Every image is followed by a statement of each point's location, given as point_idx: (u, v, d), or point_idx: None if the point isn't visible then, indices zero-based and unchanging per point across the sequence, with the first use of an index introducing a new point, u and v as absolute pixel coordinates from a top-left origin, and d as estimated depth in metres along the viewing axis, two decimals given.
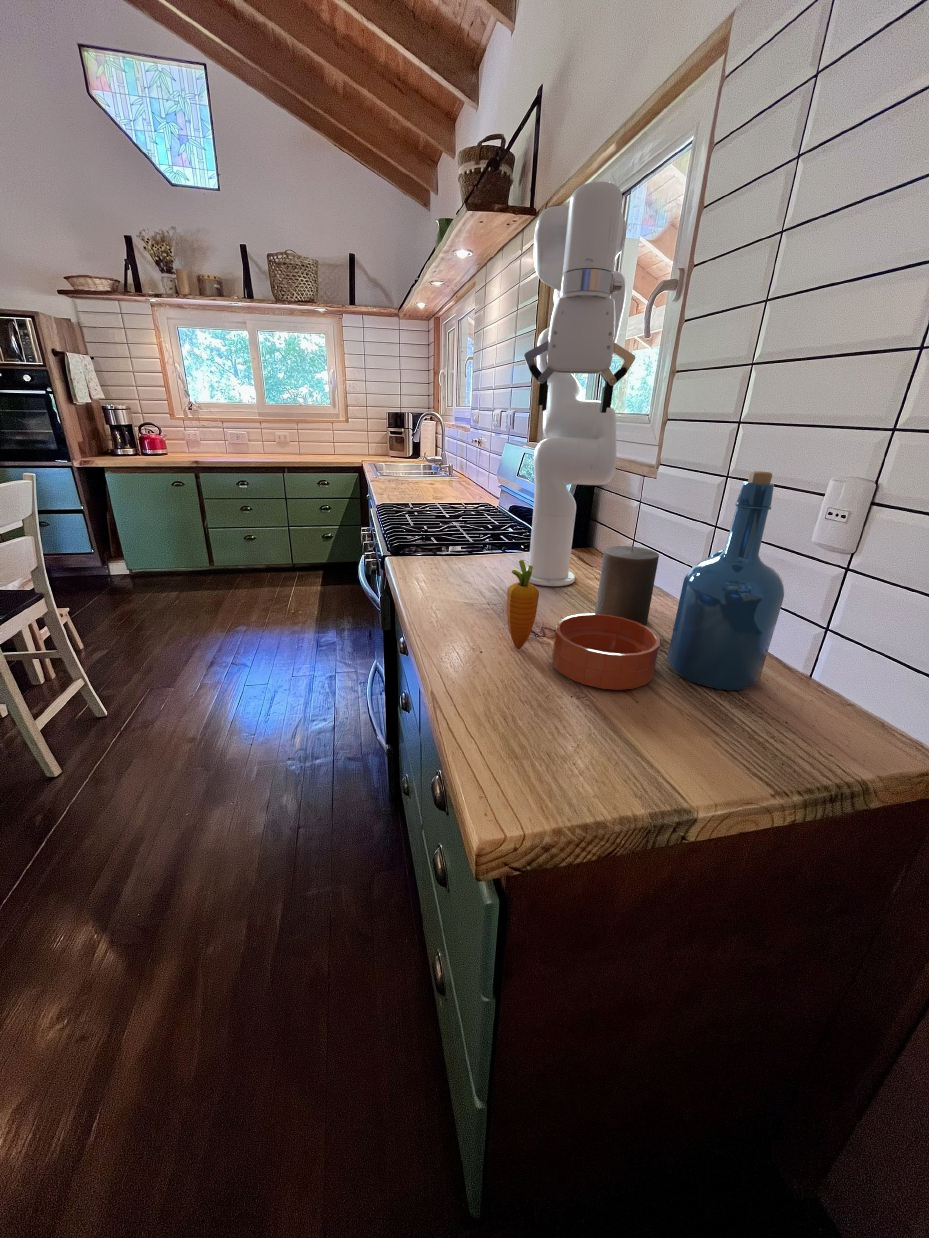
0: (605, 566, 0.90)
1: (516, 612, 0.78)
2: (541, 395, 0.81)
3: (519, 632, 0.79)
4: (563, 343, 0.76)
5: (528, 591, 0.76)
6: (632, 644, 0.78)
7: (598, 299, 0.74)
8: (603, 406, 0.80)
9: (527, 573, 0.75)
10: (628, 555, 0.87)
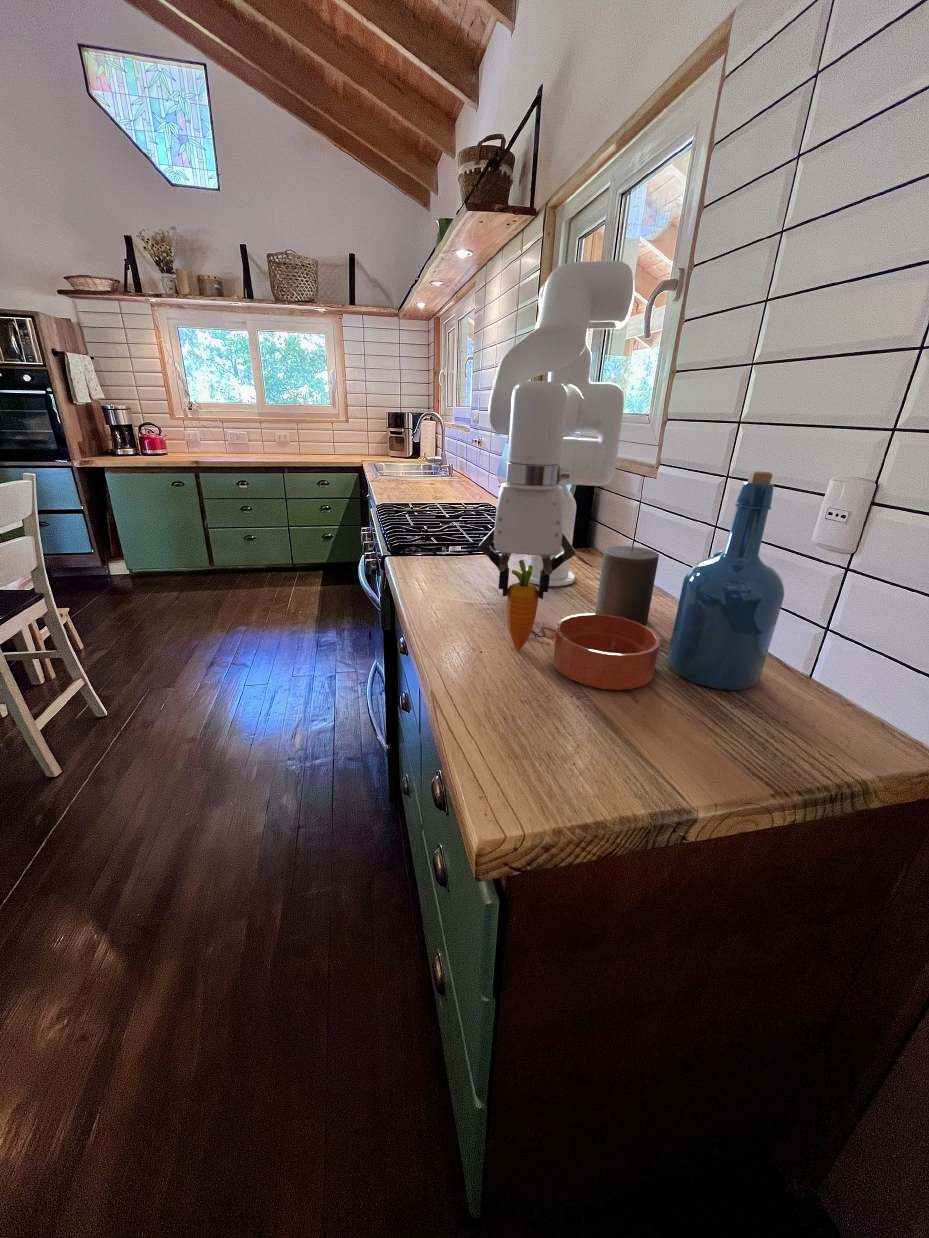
0: (605, 566, 0.90)
1: (516, 612, 0.78)
2: (501, 581, 0.77)
3: (519, 632, 0.79)
4: (509, 530, 0.73)
5: (528, 591, 0.76)
6: (632, 644, 0.78)
7: (544, 491, 0.70)
8: (540, 593, 0.77)
9: (527, 573, 0.75)
10: (628, 555, 0.87)
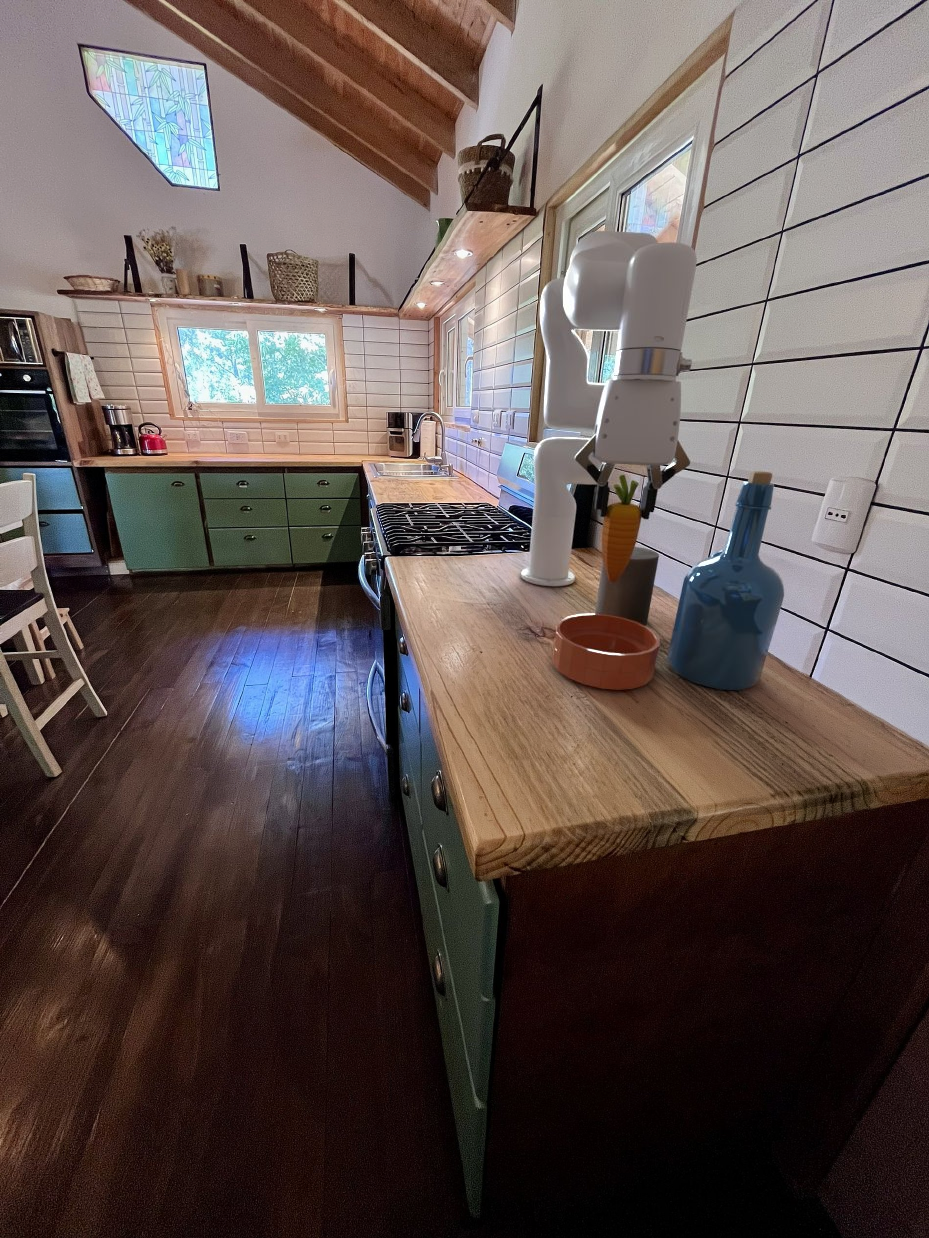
0: None
1: (616, 536, 0.67)
2: (600, 499, 0.67)
3: (617, 560, 0.69)
4: (616, 433, 0.62)
5: (633, 510, 0.66)
6: (632, 644, 0.78)
7: (662, 383, 0.60)
8: (645, 512, 0.66)
9: (632, 487, 0.65)
10: None
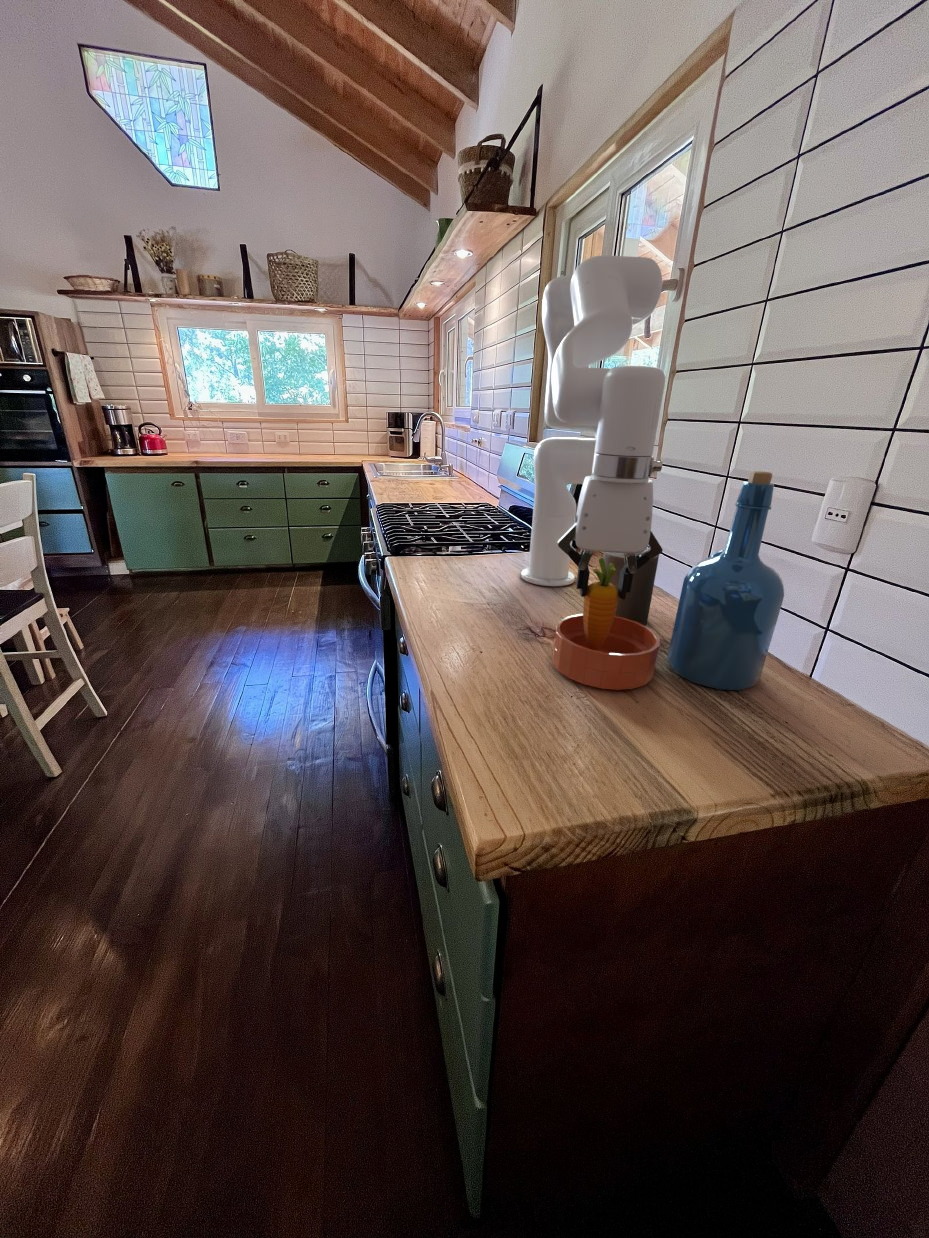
0: None
1: (596, 614, 0.73)
2: (581, 580, 0.73)
3: (597, 635, 0.75)
4: (594, 526, 0.68)
5: (610, 591, 0.72)
6: (632, 644, 0.78)
7: (635, 484, 0.65)
8: (622, 593, 0.72)
9: (610, 572, 0.71)
10: None
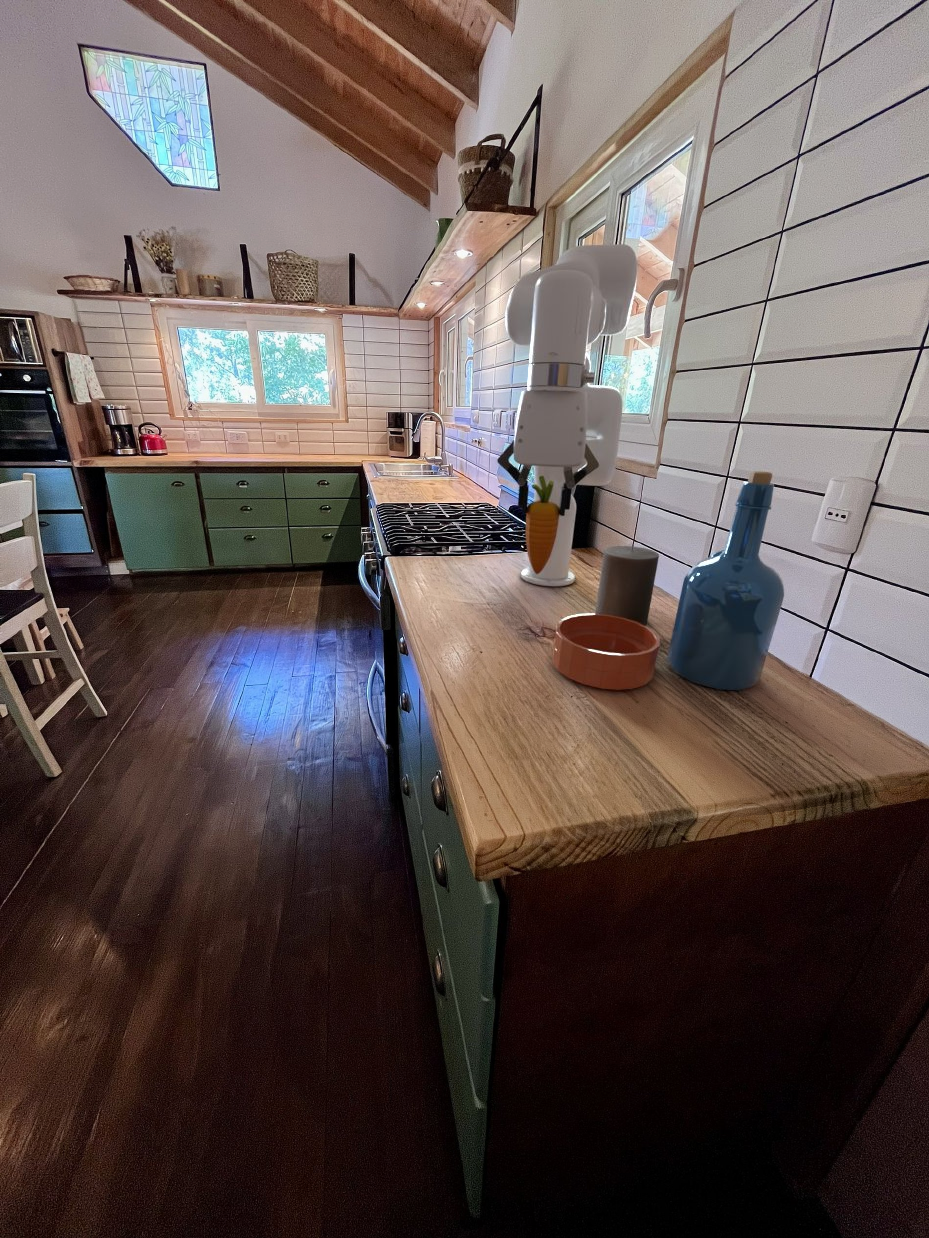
0: (605, 566, 0.90)
1: (536, 531, 0.74)
2: (521, 497, 0.74)
3: (538, 553, 0.76)
4: (530, 438, 0.69)
5: (549, 507, 0.73)
6: (632, 644, 0.78)
7: (567, 393, 0.67)
8: (561, 509, 0.73)
9: (548, 487, 0.72)
10: (628, 555, 0.87)
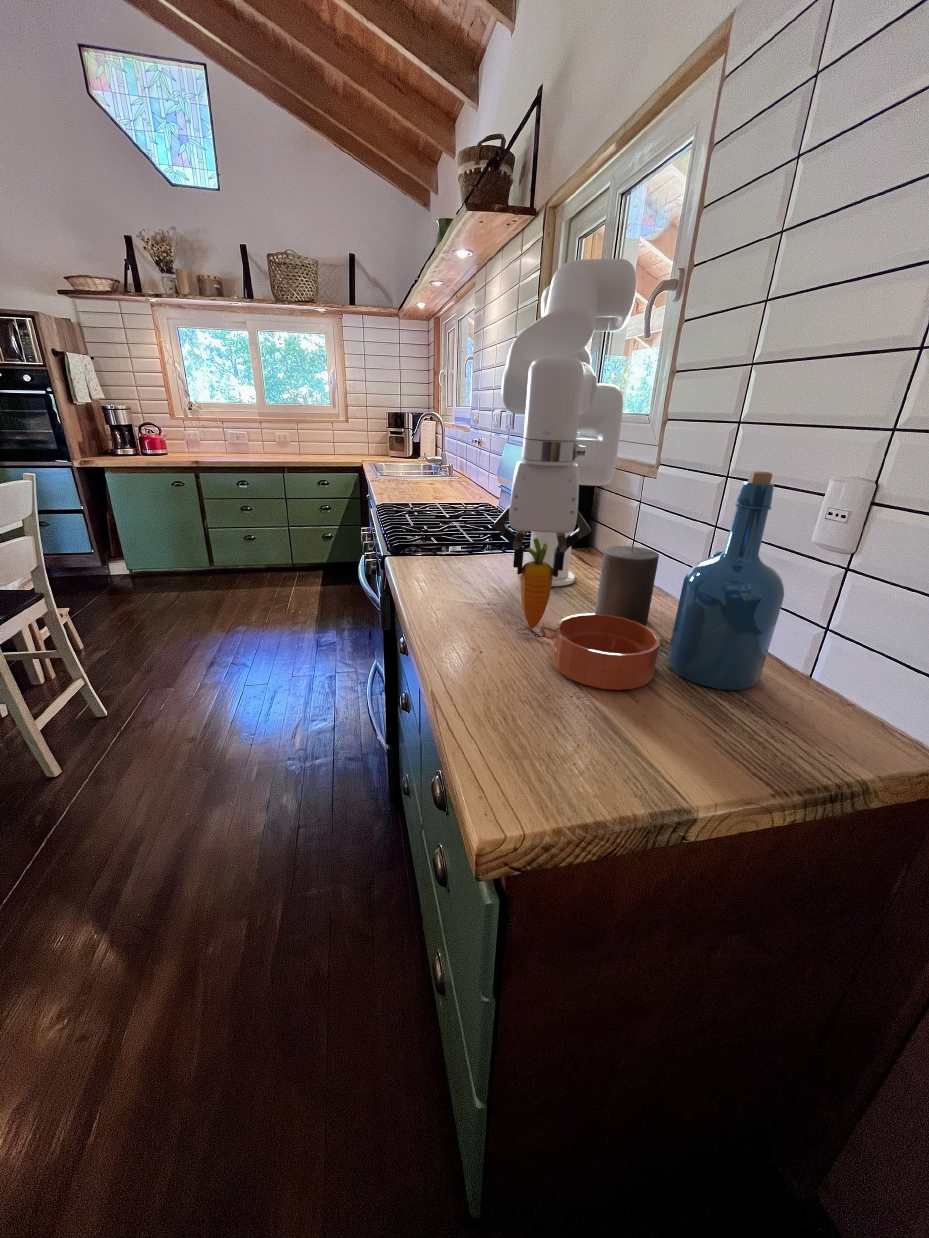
0: (605, 566, 0.90)
1: (530, 591, 0.78)
2: (516, 559, 0.78)
3: (533, 611, 0.79)
4: (525, 507, 0.73)
5: (543, 569, 0.77)
6: (632, 644, 0.78)
7: (560, 467, 0.70)
8: (554, 571, 0.77)
9: (542, 551, 0.76)
10: (628, 555, 0.87)
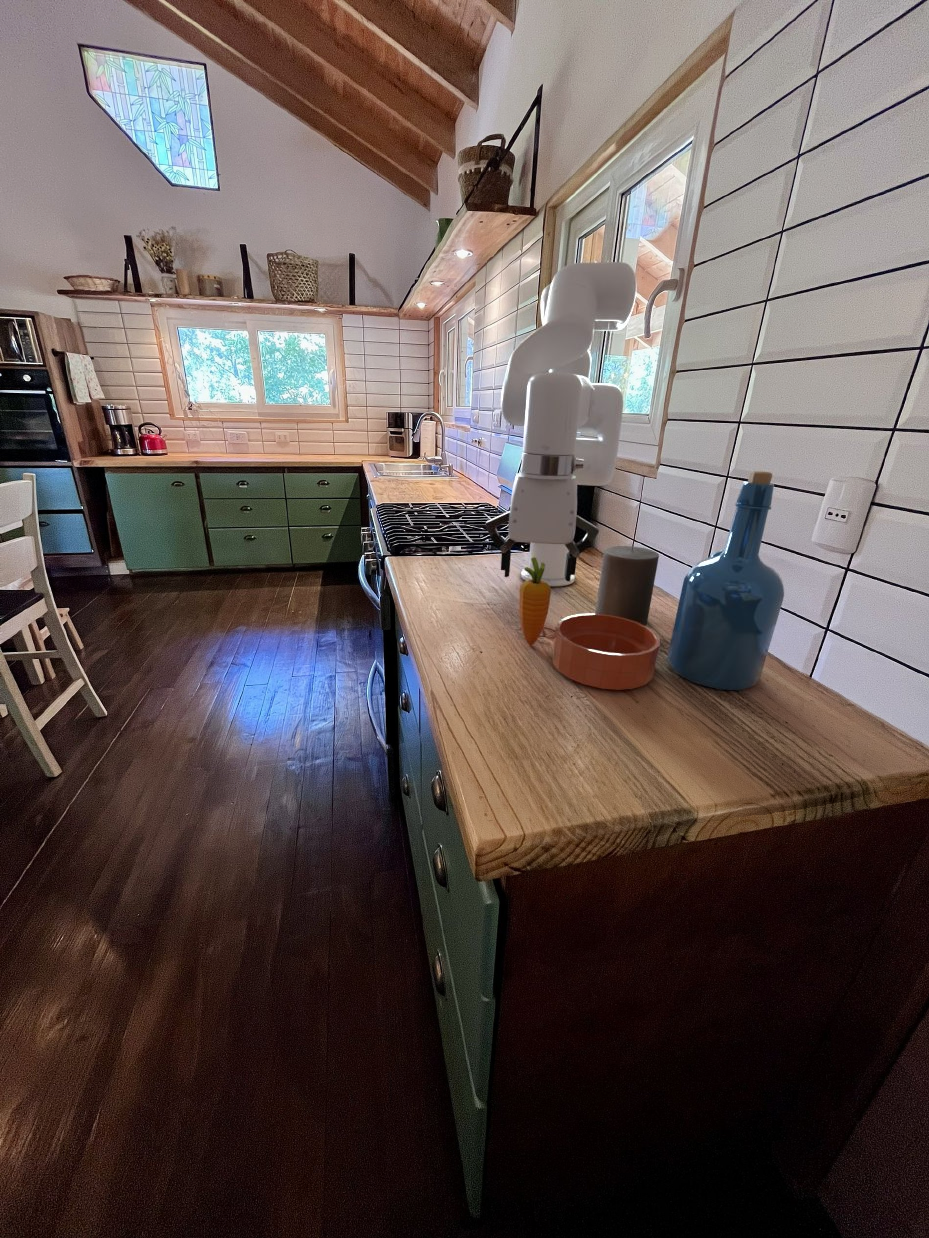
0: (605, 566, 0.90)
1: (529, 609, 0.79)
2: (504, 562, 0.79)
3: (531, 628, 0.81)
4: (524, 519, 0.74)
5: (541, 588, 0.78)
6: (632, 644, 0.78)
7: (558, 480, 0.71)
8: (567, 576, 0.78)
9: (540, 570, 0.77)
10: (628, 555, 0.87)
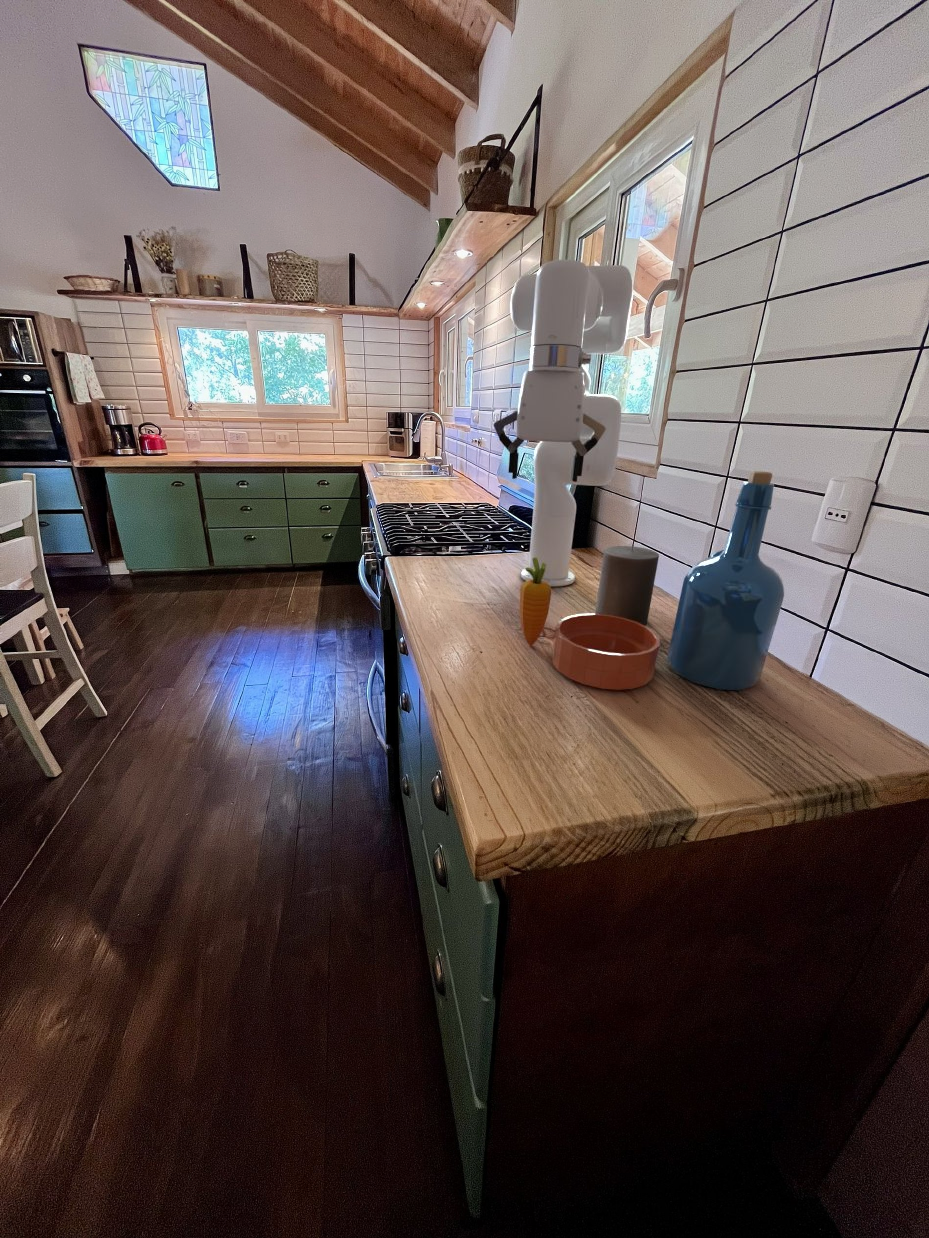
0: (605, 566, 0.90)
1: (529, 609, 0.79)
2: (511, 463, 0.80)
3: (531, 628, 0.81)
4: (532, 415, 0.76)
5: (542, 588, 0.78)
6: (632, 644, 0.78)
7: (566, 373, 0.73)
8: (574, 476, 0.79)
9: (541, 570, 0.77)
10: (628, 555, 0.87)
